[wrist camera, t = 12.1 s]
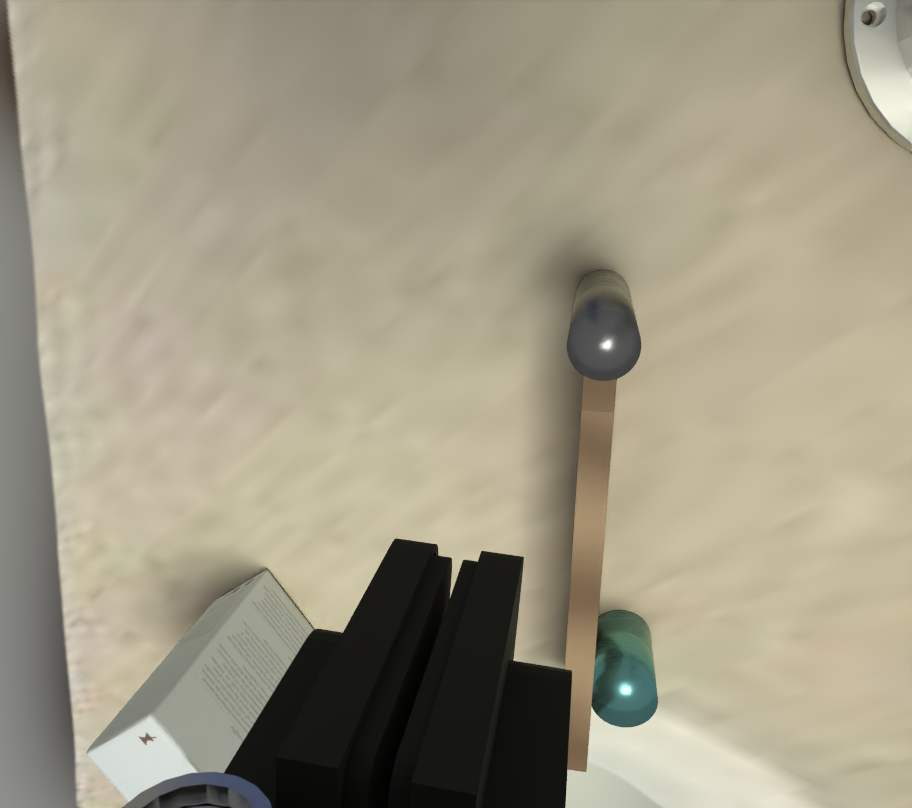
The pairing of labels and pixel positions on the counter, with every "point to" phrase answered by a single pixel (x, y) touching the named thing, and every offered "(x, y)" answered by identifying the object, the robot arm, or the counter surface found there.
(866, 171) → the counter surface
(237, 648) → the skincare box
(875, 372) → the counter surface
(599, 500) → the gate
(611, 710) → the teal elongated shape
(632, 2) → the counter surface
